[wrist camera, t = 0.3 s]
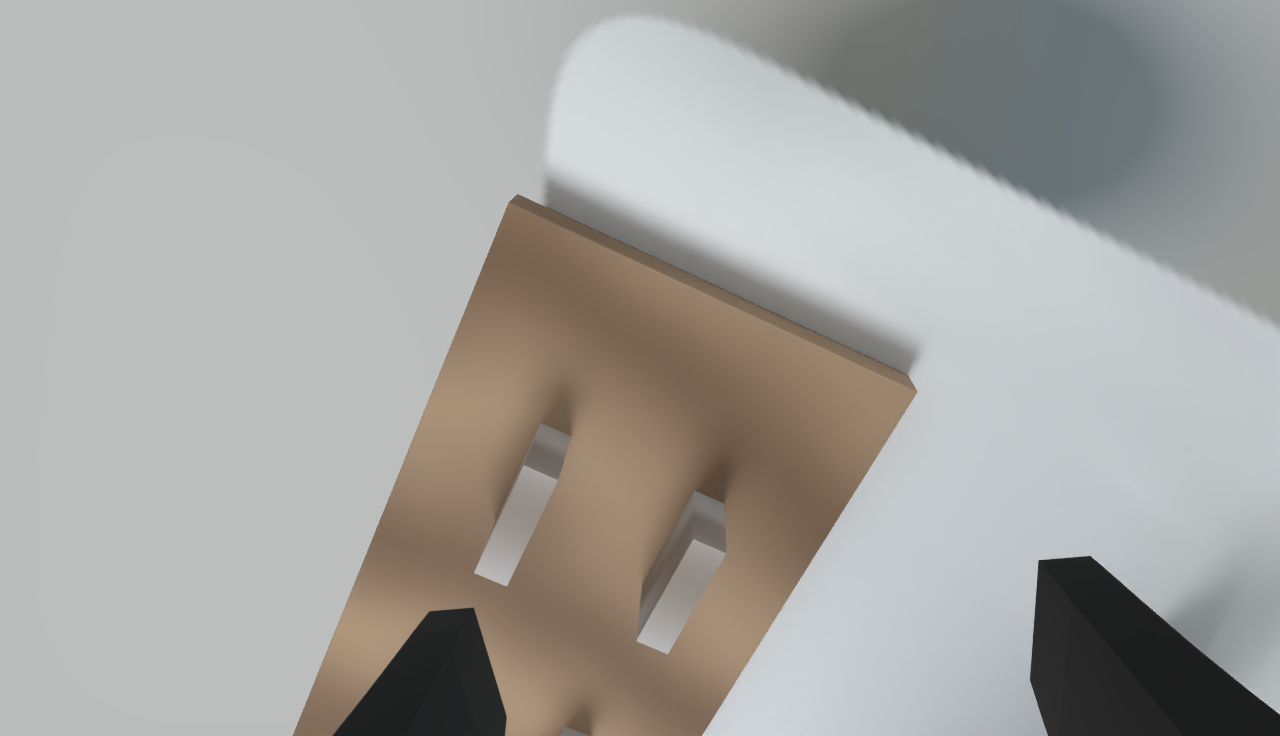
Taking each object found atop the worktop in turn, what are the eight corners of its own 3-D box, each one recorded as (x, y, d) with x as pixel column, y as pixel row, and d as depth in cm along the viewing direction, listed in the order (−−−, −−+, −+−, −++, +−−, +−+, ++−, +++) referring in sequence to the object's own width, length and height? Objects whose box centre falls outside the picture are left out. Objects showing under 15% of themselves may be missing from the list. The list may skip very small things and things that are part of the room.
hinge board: (575, 912, 29) (561, 1017, 26) (272, 795, 28) (220, 889, 25) (907, 375, 22) (940, 432, 19) (517, 194, 21) (486, 223, 18)
